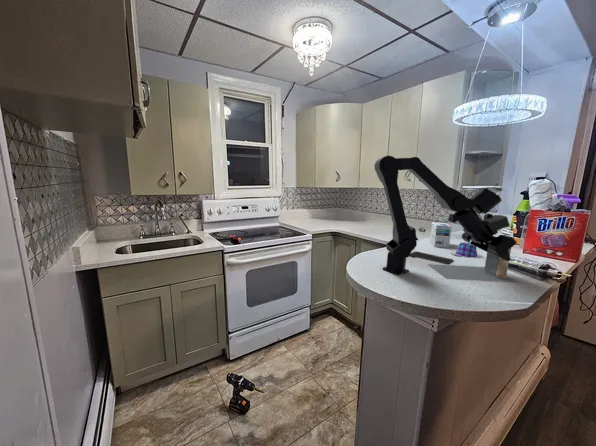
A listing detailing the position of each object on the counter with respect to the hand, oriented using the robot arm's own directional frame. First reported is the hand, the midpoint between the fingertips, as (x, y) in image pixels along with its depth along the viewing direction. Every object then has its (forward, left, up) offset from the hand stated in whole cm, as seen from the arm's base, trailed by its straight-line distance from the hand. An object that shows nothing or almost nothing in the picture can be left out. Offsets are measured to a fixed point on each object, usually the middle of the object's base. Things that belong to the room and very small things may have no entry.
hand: (501, 257), depth 83 cm
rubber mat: (-7, +6, -7) cm, 11 cm away
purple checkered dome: (+18, +17, -7) cm, 26 cm away
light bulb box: (+25, +32, -7) cm, 42 cm away
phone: (-2, +22, -7) cm, 24 cm away
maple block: (-1, +1, -6) cm, 6 cm away
